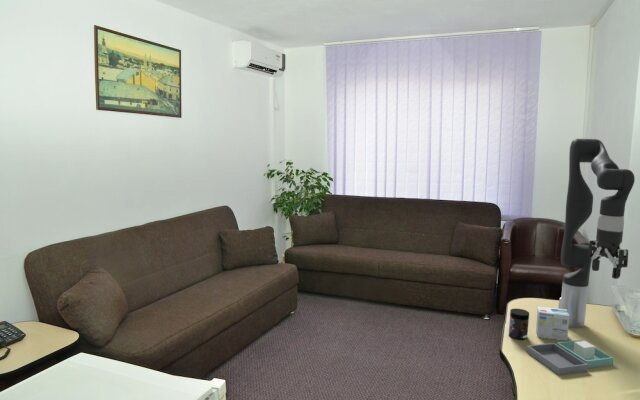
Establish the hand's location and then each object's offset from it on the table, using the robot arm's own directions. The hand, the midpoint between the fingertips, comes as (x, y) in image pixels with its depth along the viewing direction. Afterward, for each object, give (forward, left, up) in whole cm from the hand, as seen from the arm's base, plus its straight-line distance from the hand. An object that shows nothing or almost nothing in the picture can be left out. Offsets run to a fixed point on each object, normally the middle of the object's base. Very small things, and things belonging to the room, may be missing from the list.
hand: (605, 274), depth 161 cm
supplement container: (-19, -18, -30) cm, 40 cm away
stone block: (0, -6, -29) cm, 30 cm away
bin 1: (+1, -18, -30) cm, 35 cm away
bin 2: (0, -6, -30) cm, 31 cm away
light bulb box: (-17, -5, -30) cm, 35 cm away
